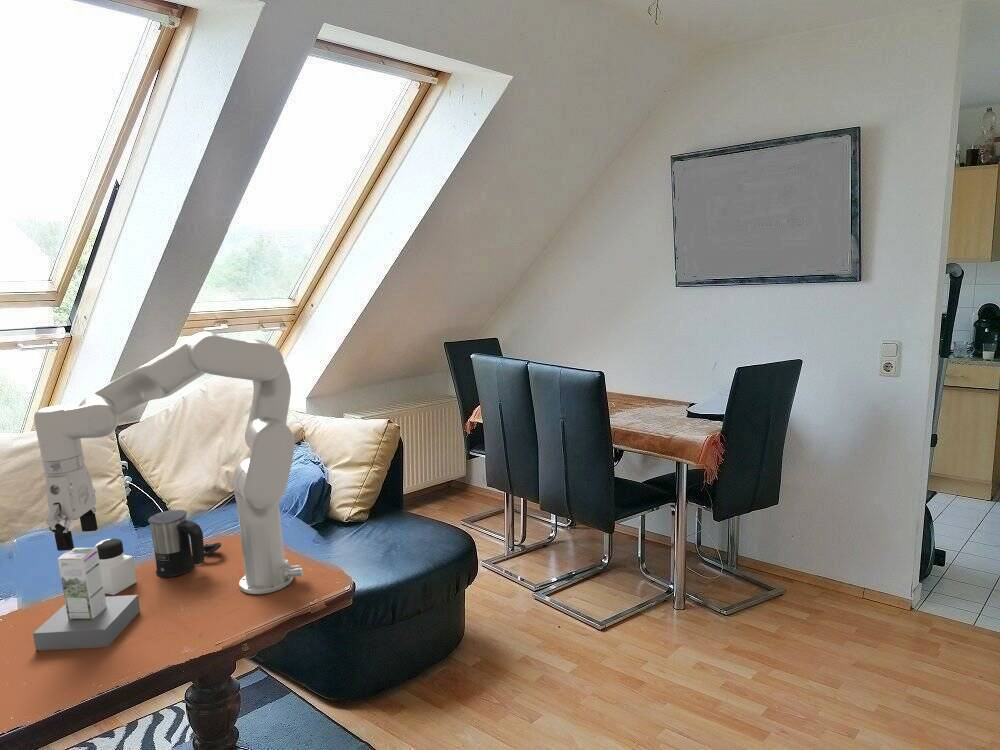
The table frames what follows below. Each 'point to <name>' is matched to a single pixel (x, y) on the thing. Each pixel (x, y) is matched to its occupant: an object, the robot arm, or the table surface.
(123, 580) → the medicine bottle
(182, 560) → the milk frother
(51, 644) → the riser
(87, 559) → the syrup box
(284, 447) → the robot arm
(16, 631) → the table surface
